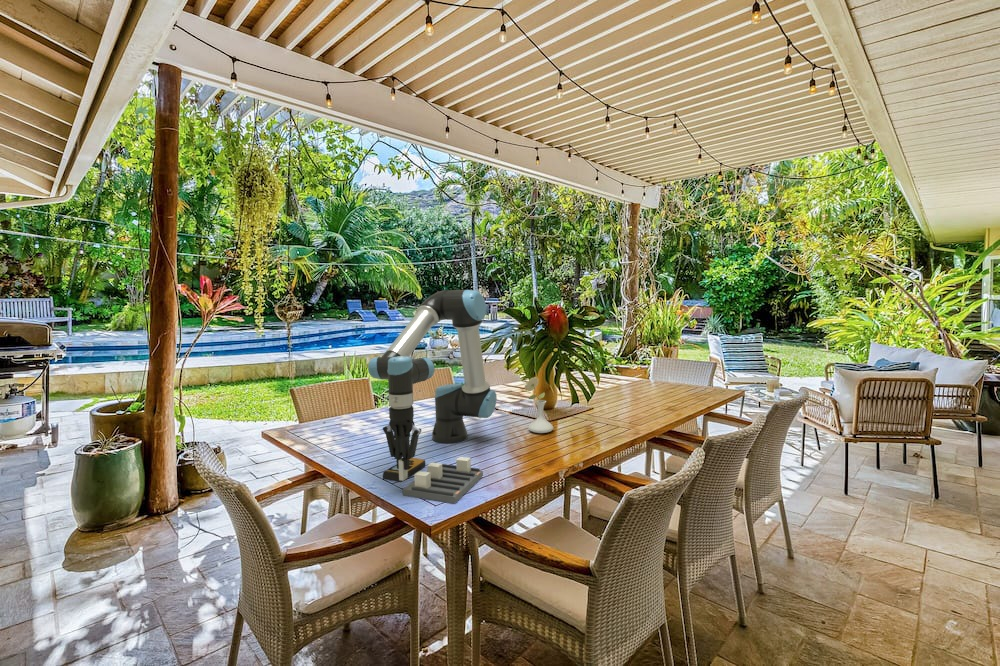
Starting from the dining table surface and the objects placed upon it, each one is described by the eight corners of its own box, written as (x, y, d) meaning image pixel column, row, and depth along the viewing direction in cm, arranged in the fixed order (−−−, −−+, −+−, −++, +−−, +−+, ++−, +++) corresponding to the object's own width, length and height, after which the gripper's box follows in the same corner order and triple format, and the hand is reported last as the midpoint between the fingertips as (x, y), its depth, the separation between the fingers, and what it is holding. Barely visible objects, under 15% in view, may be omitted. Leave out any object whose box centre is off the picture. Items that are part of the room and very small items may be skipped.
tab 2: (431, 475, 160) (431, 462, 160) (442, 477, 159) (442, 463, 158) (427, 478, 157) (427, 465, 157) (438, 480, 156) (437, 467, 155)
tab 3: (460, 469, 165) (460, 456, 165) (470, 470, 164) (470, 458, 163) (456, 472, 162) (456, 459, 162) (467, 474, 161) (467, 461, 161)
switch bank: (436, 470, 170) (435, 462, 170) (482, 476, 164) (482, 468, 164) (402, 495, 150) (402, 486, 150) (454, 503, 144) (454, 494, 143)
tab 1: (419, 484, 153) (419, 471, 152) (430, 486, 151) (430, 472, 151) (414, 488, 150) (414, 474, 149) (426, 490, 148) (425, 476, 148)
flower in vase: (547, 426, 222) (547, 373, 220) (557, 433, 212) (557, 377, 209) (520, 429, 218) (520, 375, 216) (530, 436, 207) (529, 379, 205)
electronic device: (427, 467, 175) (426, 458, 174) (402, 483, 160) (402, 473, 160) (407, 464, 178) (407, 455, 177) (381, 479, 163) (381, 470, 163)
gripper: (376, 407, 149) (379, 480, 152) (413, 410, 145) (415, 486, 147) (390, 402, 156) (392, 472, 159) (425, 404, 152) (427, 477, 154)
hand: (403, 478), depth 153 cm, fingers closed
